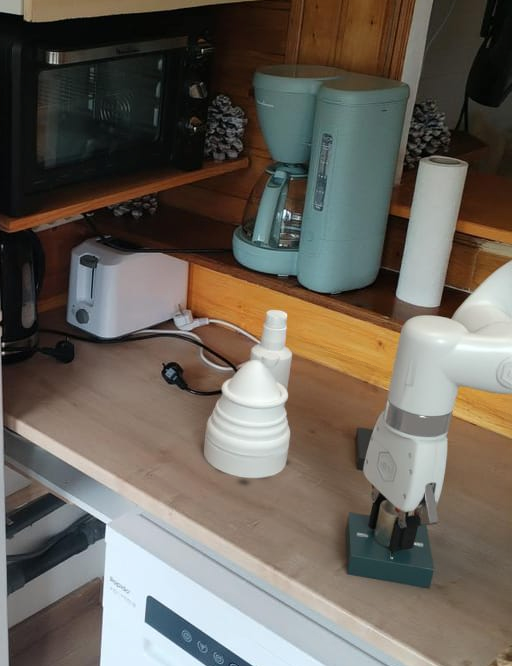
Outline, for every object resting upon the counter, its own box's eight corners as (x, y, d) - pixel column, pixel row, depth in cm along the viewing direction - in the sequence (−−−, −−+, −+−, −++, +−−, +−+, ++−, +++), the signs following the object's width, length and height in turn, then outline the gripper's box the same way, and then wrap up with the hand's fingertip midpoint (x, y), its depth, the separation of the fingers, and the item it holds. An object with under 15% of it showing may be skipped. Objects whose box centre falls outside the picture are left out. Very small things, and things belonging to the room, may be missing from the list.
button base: (433, 449, 146) (438, 428, 144) (439, 482, 137) (445, 459, 135) (355, 438, 149) (359, 417, 147) (356, 469, 140) (361, 447, 138)
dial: (367, 532, 120) (374, 499, 118) (394, 528, 121) (401, 495, 119) (384, 550, 117) (392, 516, 114) (412, 546, 118) (420, 512, 115)
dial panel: (422, 542, 123) (426, 523, 122) (429, 588, 115) (434, 568, 113) (345, 530, 126) (349, 511, 124) (347, 574, 117) (351, 554, 116)
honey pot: (295, 448, 146) (311, 346, 138) (274, 486, 136) (290, 379, 128) (217, 428, 151) (229, 330, 143) (192, 464, 141) (203, 360, 133)
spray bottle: (257, 396, 162) (270, 302, 154) (291, 409, 158) (306, 313, 150) (236, 408, 158) (247, 313, 150) (270, 422, 153) (283, 324, 145)
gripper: (352, 388, 117) (330, 505, 125) (432, 453, 103) (402, 582, 111) (403, 382, 119) (379, 499, 127) (489, 446, 104) (455, 573, 112)
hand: (390, 536), depth 119 cm, fingers closed on dial, 4 cm apart
